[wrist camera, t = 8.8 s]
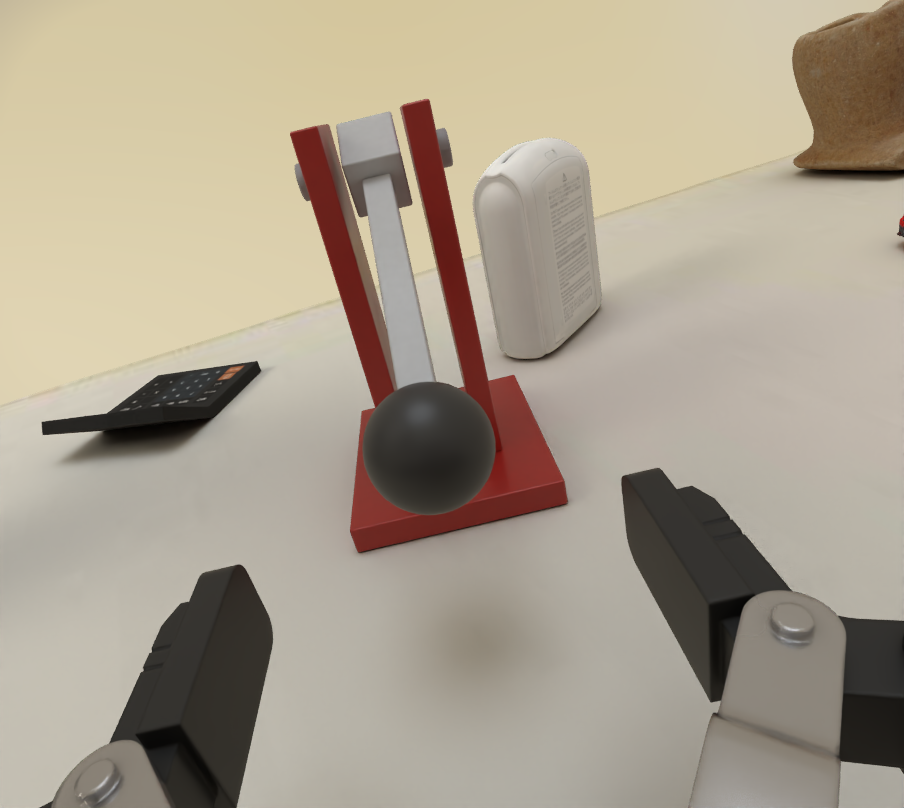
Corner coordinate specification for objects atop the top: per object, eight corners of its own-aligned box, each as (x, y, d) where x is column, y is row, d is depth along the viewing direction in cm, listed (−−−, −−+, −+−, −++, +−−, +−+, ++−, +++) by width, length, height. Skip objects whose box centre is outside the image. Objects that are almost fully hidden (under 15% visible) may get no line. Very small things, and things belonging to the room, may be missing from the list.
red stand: (568, 504, 25) (501, 79, 17) (357, 553, 25) (206, 151, 18) (517, 392, 34) (461, 91, 27) (366, 428, 34) (272, 138, 27)
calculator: (261, 370, 47) (247, 336, 46) (178, 451, 37) (158, 409, 36) (162, 384, 50) (146, 352, 48) (60, 463, 40) (36, 425, 38)
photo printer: (557, 303, 46) (533, 133, 41) (610, 303, 44) (592, 122, 38) (491, 360, 39) (452, 164, 34) (550, 364, 37) (517, 153, 31)
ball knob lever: (513, 518, 17) (505, 459, 14) (388, 547, 17) (352, 495, 14) (422, 172, 26) (404, 90, 23) (340, 192, 26) (313, 113, 23)
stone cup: (762, 180, 68) (765, 29, 61) (848, 155, 69) (861, 5, 63) (885, 189, 54) (907, -4, 48) (988, 157, 56) (1022, -32, 49)
